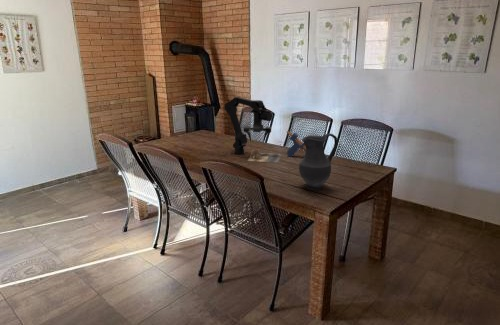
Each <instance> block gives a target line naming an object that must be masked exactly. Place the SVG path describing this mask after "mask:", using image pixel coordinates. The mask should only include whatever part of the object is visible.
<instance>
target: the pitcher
mask: <svg viewBox="0 0 500 325" xmlns="http://www.w3.org/2000/svg"><path fill="white" fill-rule="evenodd" d="M328 137H331V138H333V140H334V141H333V142H334V144H333V147H332V149H331V151H330V153H329V155H328V157H327V156H326V154H325V151H324V150H325V149H324V147H325V142H326V141H327V139H328ZM301 140H302V141H301V142H302V143H304V144H305V146H306V151H304V152H305V153H304V156H303V158H302V160H301V161H299V165H298V171H299V175H300V177H301V179H303V181H304V182H305V183H306V184H305V185H304V187H305V188H306V189H307V190H311V191H321V190H322V189H323V187H324V186H323V185H324V184H325V183H326V182H328V180H329V179H330V176H331V172H332V160H333V157H334V155H335V152H336V151H337V149H338V146H339V145H338V143H339V142H338V141H339V140H338V138H337V136H336V135H334V134H333V133H330V132H329V133H326V134H323V135H317V134H316V135H315V134H312V135H311V134H310V135H309V134H308V135H306V136H304V137H302V138H301Z"/></svg>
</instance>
